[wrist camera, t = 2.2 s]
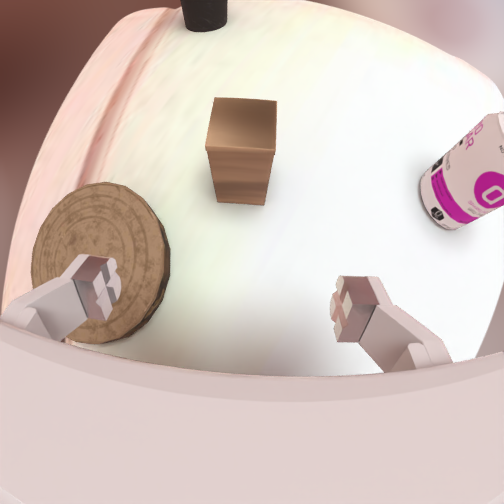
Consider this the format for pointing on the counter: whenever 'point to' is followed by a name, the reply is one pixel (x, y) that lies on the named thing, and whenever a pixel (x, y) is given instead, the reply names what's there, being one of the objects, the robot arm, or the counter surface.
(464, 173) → the supplement can
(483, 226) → the counter surface
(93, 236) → the wood slice
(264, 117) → the walnut block
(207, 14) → the travel mug
